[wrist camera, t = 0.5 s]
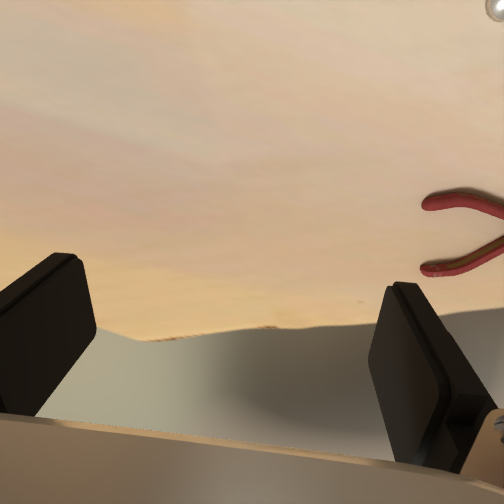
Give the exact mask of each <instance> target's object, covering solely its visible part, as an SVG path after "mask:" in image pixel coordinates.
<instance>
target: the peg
mask: <svg viewBox="0 0 504 504" xmlns="http://www.w3.org/2000/svg"><path fill="white" fill-rule="evenodd" d="M485 8H486V12H487V14H488V16H489V17H490V18H491V19H492V20H493V21H496V22H504V0H486V3H485Z"/></svg>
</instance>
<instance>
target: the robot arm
mask: <svg viewBox="0 0 504 504" xmlns="http://www.w3.org/2000/svg"><path fill="white" fill-rule="evenodd" d="M96 329H97V328H96V322H95V318H94V313H93V308H92V303H91V298H90V294H89V289H88V284H87V279H86V275H85V270H84V265H83V262H82V260H80V259H78V257H77V256H76V255H75V254H69V253H53V254H51V255H50V256H49V257H47V258H46V259H44V260H43V261H42V262H40V263H39V264H38V265H36V266H35V267H33V268H32V269H31V270H29V271H28V272H27V273H25V274H24V275H22V276H21V277H20V278H18V279H17V280H16V281H14V282H13V283H11V284H10V285H9V286H7V287H6V288H5V289H3V290H2V291H0V504H504V409H502V408H501V409H500V408H499V409H498V407H497V405H496V404H495V402H494V401H493V399H492V398H491V396H490V394H489V393H488V391H487V390H486V388H485V387H484V386H483V384H482V382H481V380H480V379H479V377H478V376H477V374H476V373H475V371H474V370H473V368H472V367H471V365H470V363H469V362H468V360H467V359H466V357H465V356H464V354H463V352H462V351H461V349H460V348H459V346H458V345H457V343H456V342H455V340H454V338H453V337H452V336H451V334H450V333H449V332H448V331H447V330H446V328H445V327H444V325H443V324H442V322H441V320H440V319H439V317H438V316H437V314H436V312H435V311H434V309H433V308H432V306H431V305H430V303H429V301H428V300H427V298H426V297H425V295H424V294H423V292H422V290H421V289H420V287H419V286H418V285H417V283H408V282H394V284H393V286H387V288H386V291H385V294H384V298H383V302H382V306H381V310H380V313H379V317H378V321H377V325H376V329H375V332H374V336H373V340H372V344H371V347H370V351H369V357H368V364H369V369H370V373H371V376H372V380H373V383H374V386H375V390H376V394H377V398H378V401H379V405H380V408H381V412H382V415H383V419H384V422H385V426H386V430H387V433H388V436H389V440H390V444H391V447H392V451H393V455H394V458H395V462H393V461H386V460H379V459H372V458H365V457H357V456H351V455H344V454H336V453H330V452H322V451H314V450H306V449H298V448H290V447H282V446H274V445H266V444H258V443H251V442H243V441H235V440H227V439H219V438H209V437H202V436H193V435H185V434H177V433H169V432H160V431H152V430H144V429H134V428H127V427H118V426H110V425H102V424H92V423H85V422H76V421H67V420H58V419H49V418H41V417H34V416H35V415H36V414H37V413H38V411H39V410H40V409H41V407H42V406H43V405H44V403H45V402H46V401H47V399H48V398H49V397H50V395H51V394H52V393H53V391H54V390H55V389H56V387H57V386H58V385H59V384H60V382H61V381H62V379H63V378H64V377H65V376H66V374H67V373H68V372H69V370H70V369H71V368H72V366H73V365H74V364H75V362H76V361H77V360H78V359H79V357H80V356H81V355H82V353H83V352H84V351H85V349H86V348H87V347H88V345H89V344H90V343H91V341H92V340H93V339H94V337H95V334H96Z"/></svg>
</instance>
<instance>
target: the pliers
mask: <svg viewBox="0 0 504 504" xmlns="http://www.w3.org/2000/svg"><path fill="white" fill-rule="evenodd" d="M421 207H422V209H423V210H426V211H436V210H442V209H448V208H454V207H467V208H472V209H476V210H479V211H481V212H484V213H487V214H490V215H492V216H495V217H498V218H500V219H503V220H504V206H503V205H500V204H497V203H495V202H492V201H489V200H487V199H484V198H481V197H479V196H475V195H471V194H466V193H451V194H445V195H440V196H434V197H429V198H427V199H425V200H424V201H423V202H422V206H421ZM503 253H504V236H502V237H500V238H498V239H496V240H495V241H493V242H491V243H489V244H487V245H485V246H484V247H482V248H480V249H478V250H476V251H474V252H473V253H471V254H469V255H467V256H465V257H463V258H461V259H459V260H456V261H454V262H450V263H445V264H434V265H423V266H420V270H421V273H422V274H423V275H425V276H427V277H442V276H455V275H459V274H462V273H465V272H467V271H470V270H472V269H474V268H476V267H478V266H480V265H482V264H484V263H486V262H487V261H489V260H491V259H493V258H495V257H497V256H499V255H501V254H503Z"/></svg>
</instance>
